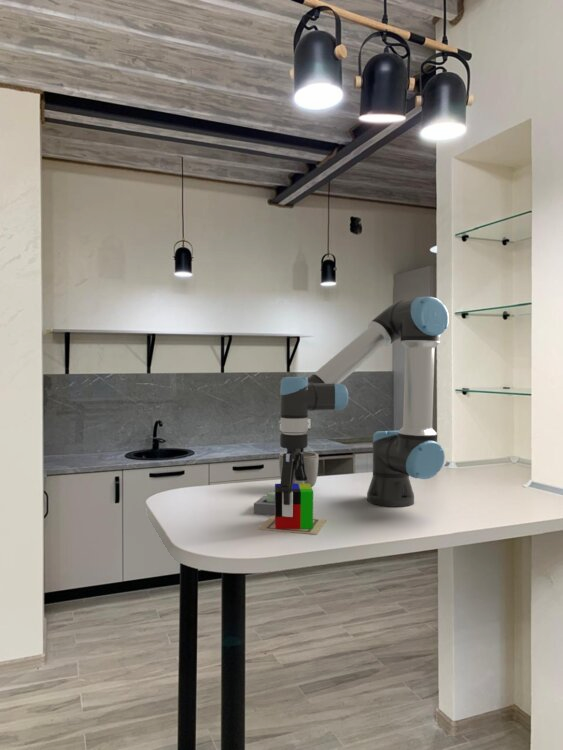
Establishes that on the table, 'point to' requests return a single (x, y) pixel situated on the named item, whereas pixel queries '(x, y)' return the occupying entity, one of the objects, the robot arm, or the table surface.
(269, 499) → the button
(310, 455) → the planter
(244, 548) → the table surface
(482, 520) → the table surface
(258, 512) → the button box
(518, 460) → the table surface
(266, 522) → the sheet
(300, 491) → the puzzle toy
